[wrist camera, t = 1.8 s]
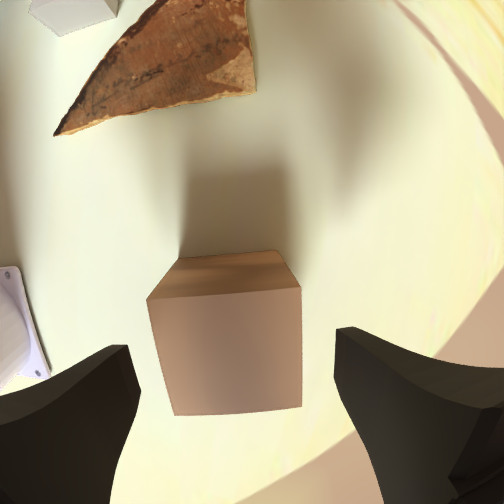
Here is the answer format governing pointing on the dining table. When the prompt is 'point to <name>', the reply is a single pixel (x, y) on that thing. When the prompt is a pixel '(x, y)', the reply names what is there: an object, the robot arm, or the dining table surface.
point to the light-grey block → (72, 13)
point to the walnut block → (229, 334)
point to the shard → (169, 63)
